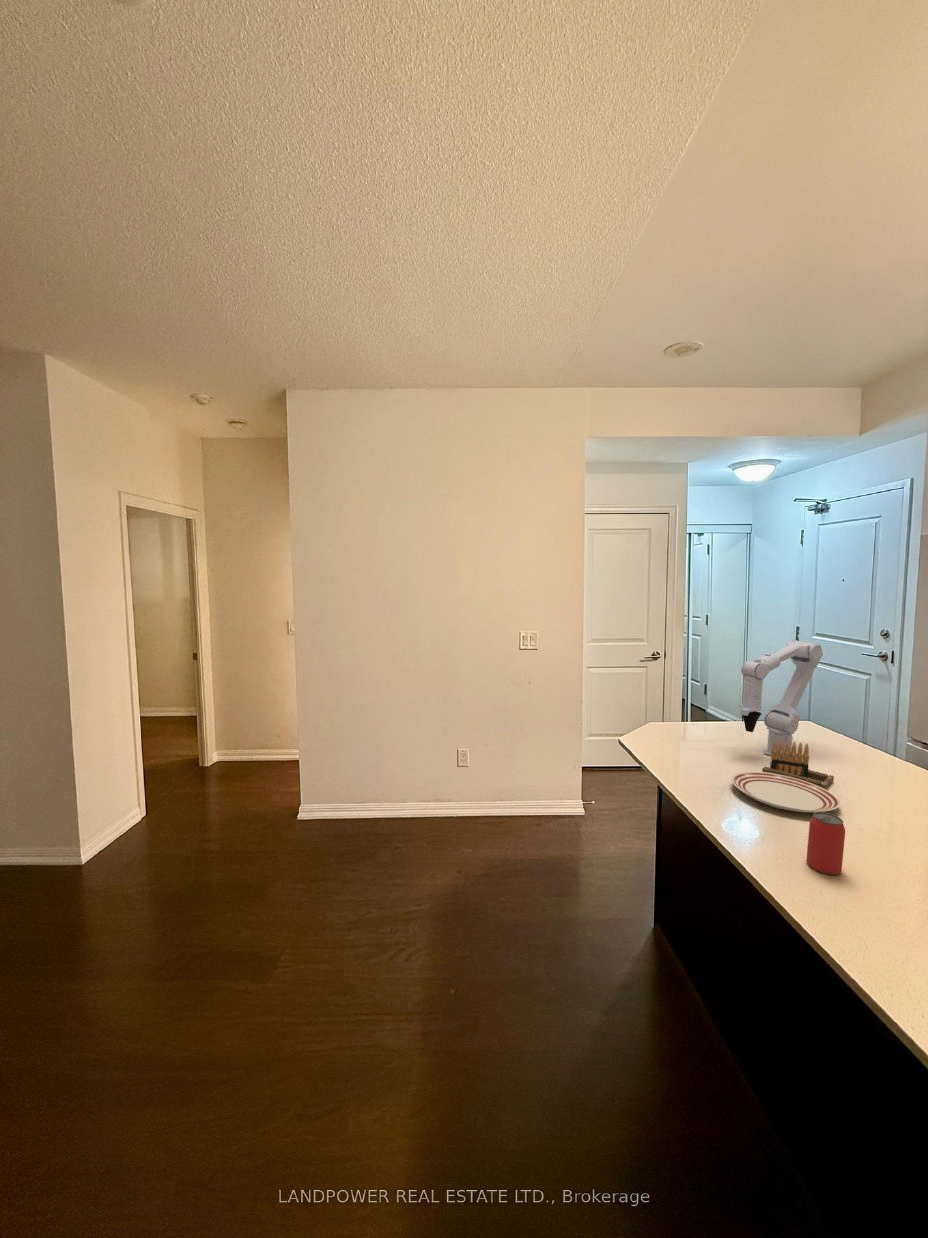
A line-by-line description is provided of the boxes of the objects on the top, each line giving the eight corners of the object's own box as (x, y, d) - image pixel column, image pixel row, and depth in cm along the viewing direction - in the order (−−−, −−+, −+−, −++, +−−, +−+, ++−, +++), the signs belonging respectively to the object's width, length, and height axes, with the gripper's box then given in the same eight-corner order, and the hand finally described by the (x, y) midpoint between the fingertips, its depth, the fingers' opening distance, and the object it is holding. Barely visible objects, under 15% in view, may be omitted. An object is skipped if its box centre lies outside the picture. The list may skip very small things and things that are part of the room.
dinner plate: (745, 772, 167) (746, 763, 167) (846, 799, 148) (847, 789, 148) (718, 797, 148) (719, 787, 147) (830, 832, 129) (831, 820, 128)
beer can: (799, 859, 115) (803, 811, 114) (825, 859, 116) (829, 810, 115) (821, 877, 109) (826, 825, 108) (849, 876, 109) (854, 824, 108)
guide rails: (772, 765, 173) (772, 760, 173) (833, 782, 160) (833, 776, 160) (762, 774, 166) (762, 768, 165) (825, 791, 153) (825, 785, 152)
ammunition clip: (807, 778, 163) (810, 743, 162) (808, 780, 162) (811, 744, 160) (769, 771, 168) (772, 737, 167) (770, 773, 166) (772, 739, 165)
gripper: (747, 689, 185) (744, 724, 186) (733, 695, 175) (730, 732, 176) (768, 693, 180) (765, 729, 181) (755, 699, 170) (752, 737, 171)
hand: (749, 731), depth 178 cm, fingers closed
